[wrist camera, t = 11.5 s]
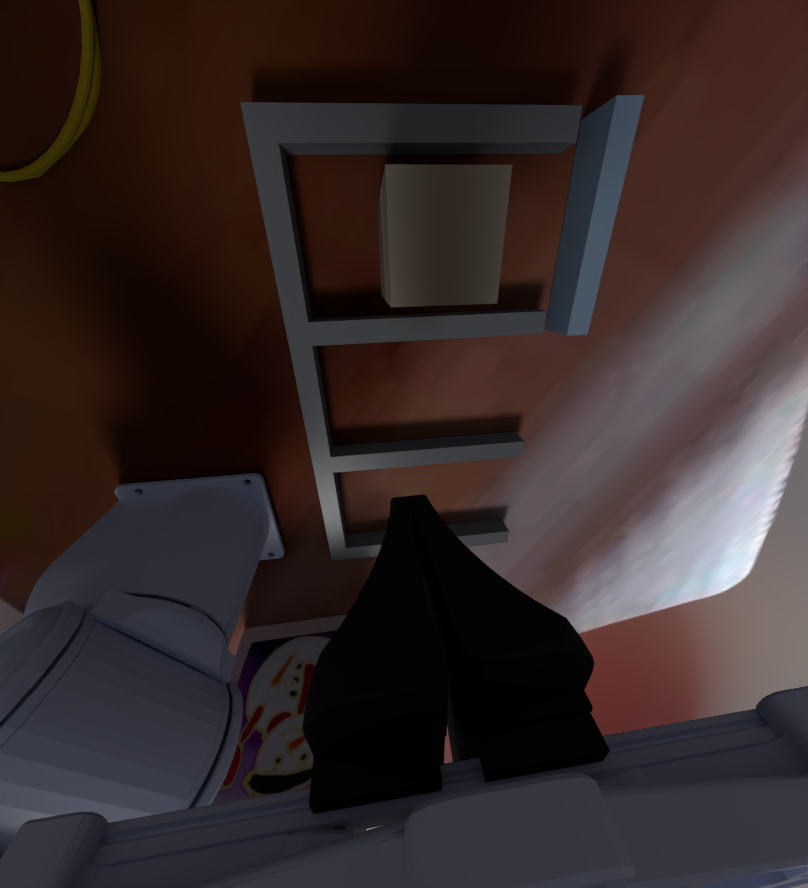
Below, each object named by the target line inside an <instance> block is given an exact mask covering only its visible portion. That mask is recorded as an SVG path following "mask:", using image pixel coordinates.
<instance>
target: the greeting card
mask: <svg viewBox="0 0 808 888" xmlns="http://www.w3.org/2000/svg"><path fill="white" fill-rule="evenodd" d="M346 616H347V614H346V615H339V616H332V617H325V618H318V619H310V620H303V621H296V622H289V623H282V624H275V625H267V626H260V627H253V628H246V629H245V630H244V632H243V635H242V638H241V641H240V644H239V647H238V650H237V653H236V657H237V660H236V663H235V666H234V669H233V672H232V675H231V678H230V681H232V682H233V683H235V684H236V685H237V686H238V688H239V690H240V691H241V695H242V698H243V717H242V724H241V730H240V735H239V739H238V743H237V747H236V751H235V754H234V757H233V760H232V762H231V765H230V768H229V770H228V772H227V775H226V777H225V779H224V781H223V783H222V785H221V787H220V789H219V791H218V793H217V795H216V797H215V798H214V800H213V802H212V803H211V805H213V804H219V803H224V802H230V801H236V800H241V799H247V798H253V797H258V796H264V795H270V794H275V793H281V792H287V791H292V790H298V789H304V788H310V786H311V776H312V767H313V757H314V756H313V754H312V752H311V750H310V747H309V745H308V743H307V741H306V738H305V736H304V734H303V727H302V725H303V718H304V710H305V703H306V697H307V693H308V689H309V685H310V681H311V678H312V675H313V672H314V669H315V666H316V663H317V660H318V658H319V655H320V653H321V651H322V650H323V649H324V647H325V646H326V645H327V643H328V642H329V640H330V639H331V638H332V636H333V635H334V634H335V632H336V631H337V629H338V628H339V627H340V625H341V624H342V622H343V621H344V619H345V617H346ZM364 831H366V829H361V830H356V831H353V832H354V834H358V833H361V832H364Z"/></svg>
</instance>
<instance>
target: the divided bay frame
mask: <svg viewBox="0 0 808 888" xmlns="http://www.w3.org/2000/svg"><path fill="white" fill-rule="evenodd" d="M643 99H644V96H641V95H616V96H615V97H614V98H612V99H611V100H609V101H608V102H606V103H605V104H604V105H602V106H601V107H599V108H598V109H597V110H595V111H594V112H592V113H591V114H589V115H588V116H587V117H585V118H584V119H582V120H581V125H580V131H579V137H578V143H577V148H576V154H575V160H574V165H573V171H572V177H571V183H570V188H569V194H568V200H567V206H566V211H565V217H564V223H563V228H562V234H561V240H560V246H559V251H558V257H557V263H556V268H555V274H554V280H553V286H552V291H551V297H550V303H549V308H548V314H547V320H546V326H545V329H547V330H550V331H553V332H556V333H560V334H563V335H566V336H570V335H587V334H588V330H589V326H590V321H591V317H592V313H593V309H594V305H595V300H596V296H597V292H598V288H599V284H600V279H601V275H602V271H603V267H604V263H605V258H606V254H607V250H608V246H609V242H610V237H611V233H612V229H613V225H614V221H615V216H616V212H617V208H618V204H619V200H620V195H621V191H622V187H623V183H624V179H625V174H626V170H627V166H628V162H629V158H630V153H631V149H632V145H633V141H634V137H635V132H636V128H637V124H638V120H639V116H640V111H641V107H642V103H643ZM240 103H241V108H242V113H243V118H244V123H245V128H246V133H247V138H248V143H249V148H250V153H251V158H252V163H253V168H254V173H255V178H256V183H257V188H258V193H259V198H260V203H261V208H262V213H263V218H264V223H265V228H266V233H267V238H268V243H269V248H270V253H271V258H272V263H273V268H274V273H275V278H276V283H277V288H278V293H279V298H280V303H281V308H282V313H283V318H284V323H285V328H286V333H287V338H288V343H289V348H290V353H291V358H292V363H293V368H294V373H295V378H296V383H297V388H298V393H299V398H300V403H301V408H302V413H303V418H304V423H305V428H306V433H307V438H308V443H309V448H310V453H311V458H312V463H313V468H314V473H315V478H316V483H317V488H318V493H319V498H320V503H321V508H322V513H323V518H324V523H325V528H326V533H327V538H328V543H329V548H330V553H331V558H332V561H337V560H346V559H355V558H364V557H374V556H378V554H379V551H380V548H381V545H382V542H383V539H384V536H385V532H386V530H384V531H374V532H364V533H355V534H346V527H345V521H344V515H343V509H342V502H341V496H340V490H339V483H338V477H337V472H347V471H358V470H370V469H382V468H394V467H405V466H417V465H429V464H441V463H452V462H464V461H476V460H488V459H499V458H511V457H522V452H523V446H524V441H523V440H522V438H521V437H520V436H519V435H518V434H517V433H516V432H505V433H493V434H480V435H467V436H454V437H441V438H429V439H416V440H403V441H390V442H378V443H365V444H352V445H339V446H332V439H331V433H330V427H329V420H328V414H327V408H326V402H325V395H324V389H323V383H322V376H321V370H320V364H319V358H318V351H317V346H320V345H339V344H358V343H377V342H396V341H415V340H434V339H453V338H472V337H491V336H510V335H529V334H543V331H544V325H545V319H546V313H547V311H544V310H539V309H512V310H490V311H468V312H447V313H425V314H403V315H381V316H359V317H337V318H315V319H312V313H311V307H310V301H309V295H308V288H307V282H306V276H305V269H304V263H303V257H302V251H301V244H300V238H299V232H298V225H297V219H296V213H295V207H294V200H293V194H292V188H291V181H290V175H289V169H288V162H287V156H286V155H352V154H558V153H560V152H562V151H563V150H565V149H566V148H568V147H570V146H571V145H573V144H575V143H576V140H577V134H578V129H579V123H580V117H581V111H582V106H583V105H494V104H383V103H273V102H240ZM447 526H448V527H449V528H450V529H451V530H452V532H453V533H454V534H455V535H456V536H457V537H458V538H459V539H460V540H461V541H462V542H463V543H464V545H465V546H466V547H467V546H476V545H485V544H495V543H504V542H507V538H508V533H509V531H508V529H507V527H506V526H505V524H504V522H503V520H502V519H493V520H483V521H473V522H463V523H453V524H447Z"/></svg>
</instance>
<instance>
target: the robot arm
mask: <svg viewBox="0 0 808 888" xmlns="http://www.w3.org/2000/svg"><path fill="white" fill-rule="evenodd" d="M246 479H247V480H250V481H251V482H247V481H246ZM139 489H141V490H142V491H140V490H139ZM115 494H116V496H117V497H118V499H119V502H118V503H117V504H116V505H115V506H114V507H112V508H111V509H110V510H109V511H108V512H107V513H106V514H105V515H104V516H103V517H102V518H101V519H100V520H98V521H97V522H96V523H95V524H94V525H93V526H92V527H91V528H90V529H89V530H88V531H87V532H86V533H85V534H83V535H82V536H81V537H80V538H79V539H78V540H77V541H76V542H75V543H74V544H73V545H72V546H71V547H69V548H68V549H67V550H66V551H65V552H64V553H63V554H62V555H61V556H60V557H59V558H58V559H57V560H55V561H54V562H53V563H52V564H51V565H50V566H49V567H48V568H47V570H46V571H45V572H44V573H43V574H42V576H41V577H40V579H39V580H38V581H37V583H36V585H35V587H34V588H33V590H32V592H31V595H30V597H29V599H28V602H27V605H26V608H25V613H24V619H22V620H21V621H19V622H18V623H16V624H15V625H13V626H12V627H11V628H9V629H8V630H7V631H6V632H4V633H3V634H2V635H0V888H791V887H794V886H798V885H802V884H807V883H808V686H806V687H800V688H794V689H789V690H783V691H778V692H774V693H772V694H770V695H768V696H766V697H764V698H763V699H762V700H761V701H760V702H759V703H758V704H757V706H756V709H752V710H747V711H741V712H735V713H730V714H724V715H718V716H713V717H707V718H702V719H696V720H690V721H685V722H679V723H673V724H668V725H662V726H656V727H650V728H645V729H639V730H633V731H628V732H622V733H616V734H611V735H605V736H602V734H601V732H600V730H599V728H598V726H597V724H596V723H595V721H594V719H593V717H592V715H591V713H590V712H591V711H592V709H593V708H592V704H591V703H590V701H589V699H588V697H587V695H586V693H585V691H584V689H585V687H586V685H587V683H588V681H589V678H590V676H591V674H592V671H593V666H594V660H593V657H592V655H591V653H590V651H589V650H588V648H587V646H586V645H585V643H584V642H583V640H582V639H581V637H580V636H579V634H578V633H577V632H576V630H575V629H574V628H573V626H572V625H571V624H570V622H569V621H568V620H567V618H565V617H563V616H562V615H560V614H558V613H556V612H554V611H553V610H551V609H549V608H547V607H546V606H544V605H542V604H540V603H539V602H537V601H535V600H534V599H532V598H531V597H529V596H527V595H526V594H524V593H523V592H521V591H520V590H518V589H517V588H516V587H514V586H513V585H512V584H510V583H509V582H508V581H506V580H505V579H503V578H502V577H501V576H499V575H498V574H497V573H495V572H494V571H493V570H492V569H491V568H489V567H488V566H487V565H486V564H485V563H483V562H482V561H481V560H480V559H479V558H478V557H477V556H476V555H475V554H474V553H473V552H471V551H470V550H469V549H468V548H467V547H466V546H465V545H464V543H463V542H462V541H461V540H460V539H459V538H458V537H457V536H456V535H455V534H454V533H453V532H452V530H451V529H450V528H449V527H448V526H447V524H446V523H445V522H444V521H443V519H442V518H441V517H440V516H439V514H438V513H437V512H436V510H435V509H434V507H433V506H432V504H431V503H430V501H429V500H428V498H427V497H426V496H425V495H414V496H405V497H396V498H392V499H391V500H390V501H391V509H390V516H389V521H388V525H387V529H386V532H385V536H384V539H383V542H382V545H381V548H380V551H379V554H378V556H377V559H376V561H375V564H374V566H373V568H372V570H371V573H370V575H369V577H368V579H367V581H366V583H365V585H364V587H363V589H362V591H361V592H360V594H359V596H358V598H357V600H356V601H355V603H354V604H353V606H352V608H351V609H350V611H349V613H348V614H347V616H346V617H345V619H344V621H343V622H342V624H341V625H340V627H339V628H338V629H337V631H336V632H335V634H334V635H333V636H332V638H331V639H330V640H329V642H328V643H327V645H326V646H325V647H324V649H323V650H322V651H321V653H320V655H319V658H318V660H317V663H316V666H315V669H314V672H313V675H312V678H311V681H310V685H309V689H308V693H307V697H306V703H305V710H304V718H303V725H302V727H303V734H304V736H305V738H306V741H307V743H308V745H309V747H310V750H311V752H312V754H313V756H314V757H313V767H312V776H311V786H310V788H304V789H298V790H292V791H287V792H281V793H275V794H270V795H264V796H258V797H253V798H247V799H241V800H236V801H230V802H224V803H219V804H213V805H211V803H212V802H213V800H214V798H215V797H216V795H217V793H218V791H219V789H220V787H221V785H222V783H223V781H224V779H225V777H226V775H227V772H228V770H229V768H230V765H231V762H232V760H233V757H234V754H235V751H236V747H237V743H238V739H239V735H240V730H241V724H242V717H243V698H242V695H241V691H240V690H239V688H238V686H237V685H236V684H235V683H233V682H232V681H230V678H231V675H232V672H233V669H234V666H235V663H236V660H237V657H236V656H235V655H233V654H232V653H231V652H230V651H229V650H228V645H229V642H230V640H231V637H232V634H233V631H234V629H235V626H236V623H237V621H238V618H239V615H240V612H241V610H242V607H243V604H244V601H245V599H246V596H247V593H248V590H249V588H250V585H251V582H252V580H253V577H254V574H255V571H256V569H257V566H258V563H259V560H267V559H277V558H282V557H283V556H284V554H285V549H284V545H283V542H282V539H281V535H280V532H279V529H278V525H277V522H276V518H275V515H274V512H273V508H272V505H271V501H270V498H269V495H268V491H267V488H266V485H265V481H264V478H263V476H262V475H260V474H258V473H250V474H238V475H226V476H214V477H202V478H190V479H178V480H166V481H154V482H142V483H130V484H121V485H119V486H118V487H117V488H116V489H115ZM447 726H448V733H449V739H450V746H451V752H452V759H453V762H451V763H446V764H444V745H445V736H446V733H447ZM383 825H384V826H383ZM377 826H381V827H377ZM372 827H377V828H374V829H371V830H368V831H364V832H361V833H358V834H354V832H353V831H356V830H361V829H367V828H372Z"/></svg>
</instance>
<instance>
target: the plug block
mask: <svg viewBox="0 0 808 888" xmlns="http://www.w3.org/2000/svg"><path fill="white" fill-rule="evenodd" d="M511 172H512V165H422V164H385V169H384V174H383V179H382V184H381V190H380V195H379V200H378V205H377V212H378V231H379V251H380V271H381V290H382V296H383V298H384V299H385V300H386V302H387V303H388V304H389V305H390V307H413V306H442V305H470V304H497V301H498V292H499V283H500V273H501V264H502V255H503V246H504V237H505V227H506V218H507V209H508V200H509V191H510V181H511Z"/></svg>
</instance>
